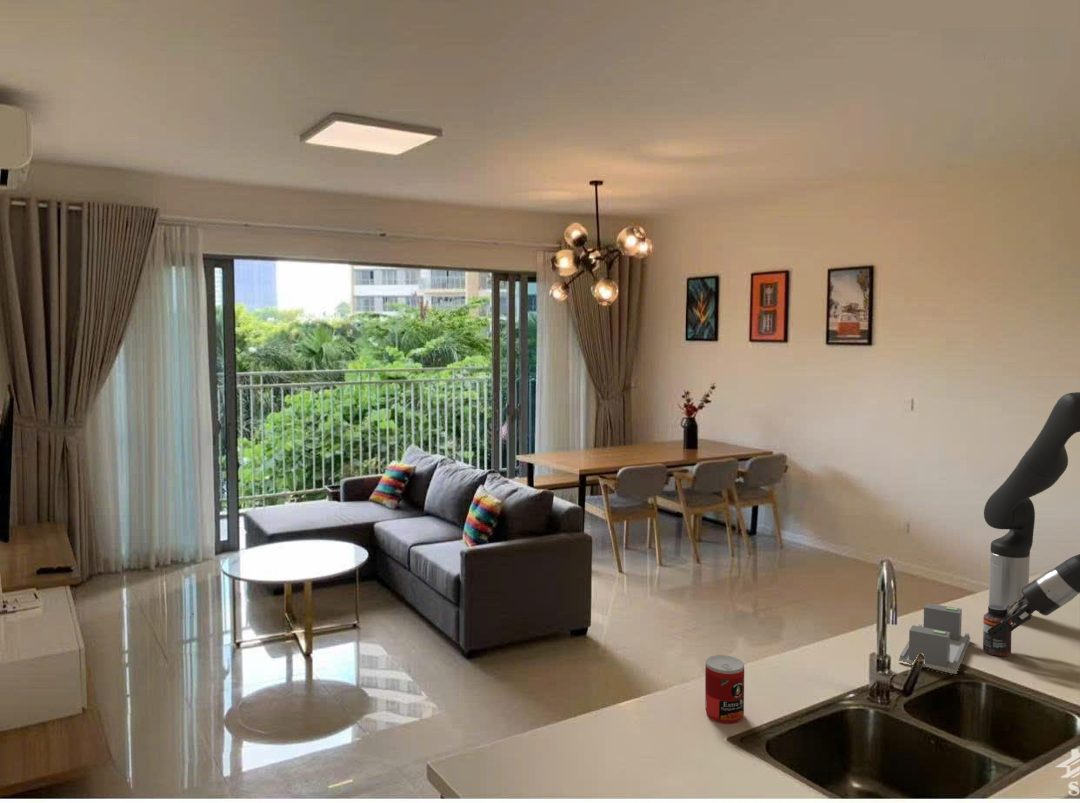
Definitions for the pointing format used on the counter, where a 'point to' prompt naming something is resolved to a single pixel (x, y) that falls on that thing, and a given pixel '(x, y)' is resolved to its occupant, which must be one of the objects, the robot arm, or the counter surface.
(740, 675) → the canned food
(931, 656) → the board
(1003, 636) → the supplement bottle
